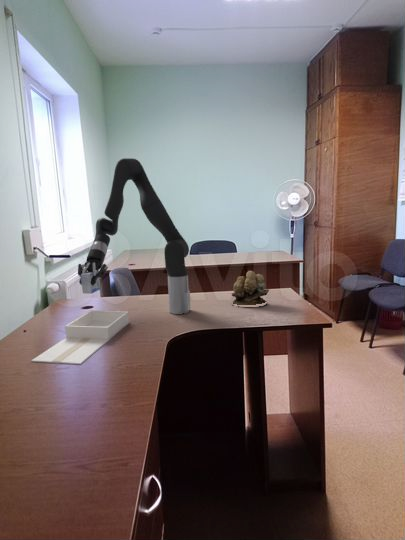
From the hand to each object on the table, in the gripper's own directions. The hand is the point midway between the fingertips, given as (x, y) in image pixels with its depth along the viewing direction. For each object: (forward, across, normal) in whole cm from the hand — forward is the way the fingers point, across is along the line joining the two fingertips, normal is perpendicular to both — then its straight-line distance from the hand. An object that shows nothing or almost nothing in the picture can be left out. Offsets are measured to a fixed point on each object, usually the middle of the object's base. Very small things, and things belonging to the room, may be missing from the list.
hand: (86, 284), depth 145 cm
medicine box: (+1, 0, +6) cm, 6 cm away
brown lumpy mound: (-8, +69, +31) cm, 77 cm away
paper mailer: (+27, +12, -5) cm, 30 cm away
